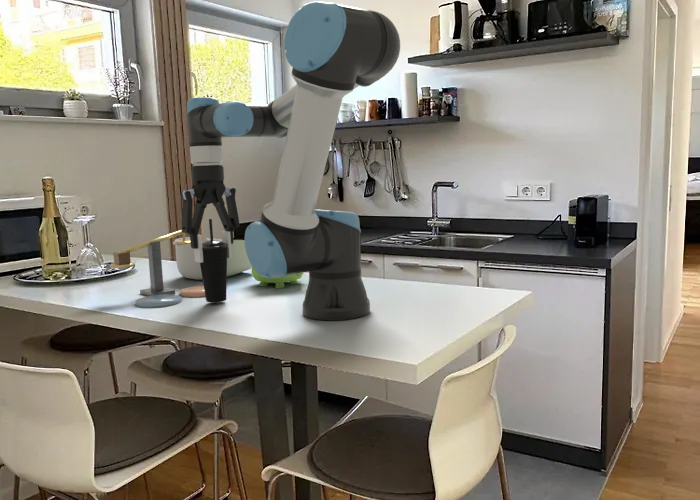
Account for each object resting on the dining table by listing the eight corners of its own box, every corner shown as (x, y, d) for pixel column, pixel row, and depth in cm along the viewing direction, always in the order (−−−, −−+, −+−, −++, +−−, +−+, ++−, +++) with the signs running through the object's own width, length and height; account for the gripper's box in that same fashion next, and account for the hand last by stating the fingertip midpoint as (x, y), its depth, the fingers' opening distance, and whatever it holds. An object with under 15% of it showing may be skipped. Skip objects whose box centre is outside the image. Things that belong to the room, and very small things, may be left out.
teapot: (245, 291, 167) (242, 244, 165) (248, 280, 181) (246, 237, 179) (305, 288, 168) (303, 241, 166) (304, 278, 182) (302, 235, 180)
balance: (204, 288, 171) (200, 229, 169) (120, 304, 156) (114, 238, 153) (190, 284, 177) (186, 227, 175) (107, 299, 161) (102, 236, 159)
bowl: (163, 279, 187) (160, 240, 186) (211, 269, 203) (209, 233, 201) (210, 285, 176) (207, 243, 174) (256, 274, 192) (254, 235, 190)
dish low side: (189, 301, 156) (189, 298, 156) (148, 309, 148) (147, 306, 148) (169, 295, 164) (168, 292, 164) (128, 302, 156) (128, 299, 156)
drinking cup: (224, 304, 149) (218, 220, 146) (195, 303, 150) (188, 221, 147) (236, 296, 156) (231, 217, 153) (208, 296, 158) (202, 217, 155)
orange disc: (230, 291, 166) (230, 288, 166) (193, 299, 159) (192, 296, 158) (208, 286, 174) (208, 283, 174) (172, 293, 167) (172, 290, 166)
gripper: (234, 163, 158) (240, 253, 161) (160, 166, 144) (168, 263, 148) (251, 163, 152) (256, 255, 156) (175, 165, 139) (183, 267, 142)
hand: (213, 259), depth 152 cm, fingers closed on drinking cup, 7 cm apart
